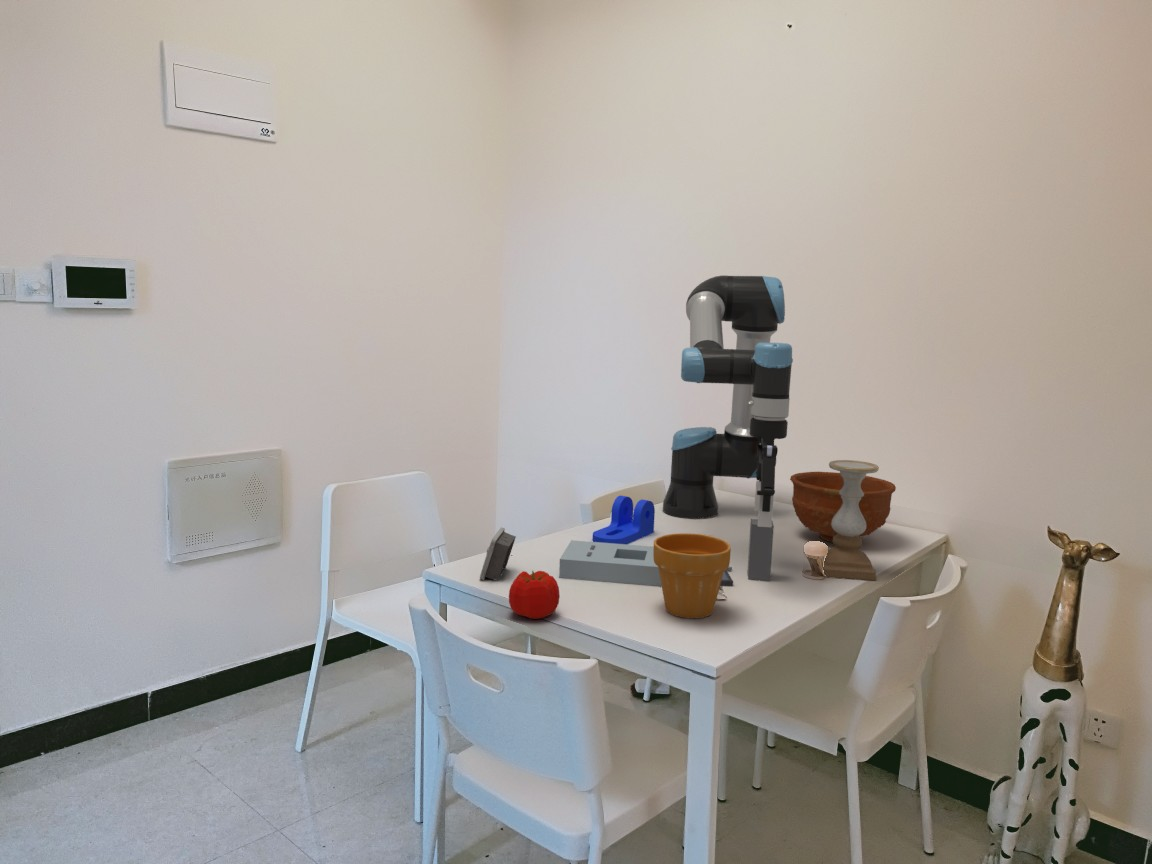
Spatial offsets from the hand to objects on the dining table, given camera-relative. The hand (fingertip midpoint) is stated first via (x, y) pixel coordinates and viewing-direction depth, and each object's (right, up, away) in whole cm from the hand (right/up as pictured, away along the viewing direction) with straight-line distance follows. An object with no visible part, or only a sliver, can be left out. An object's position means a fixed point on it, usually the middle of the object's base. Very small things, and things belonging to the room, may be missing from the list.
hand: (762, 518), depth 174 cm
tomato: (-47, -15, -22) cm, 54 cm away
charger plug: (0, -13, +2) cm, 13 cm away
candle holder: (+20, -13, +8) cm, 25 cm away
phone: (-14, -13, 0) cm, 19 cm away
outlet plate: (-31, -12, +3) cm, 33 cm away
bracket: (-28, -8, +29) cm, 41 cm away
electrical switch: (-56, -12, -1) cm, 57 cm away
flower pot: (-18, -16, -18) cm, 30 cm away
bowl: (+26, -9, +33) cm, 43 cm away
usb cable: (-12, -11, +8) cm, 19 cm away
